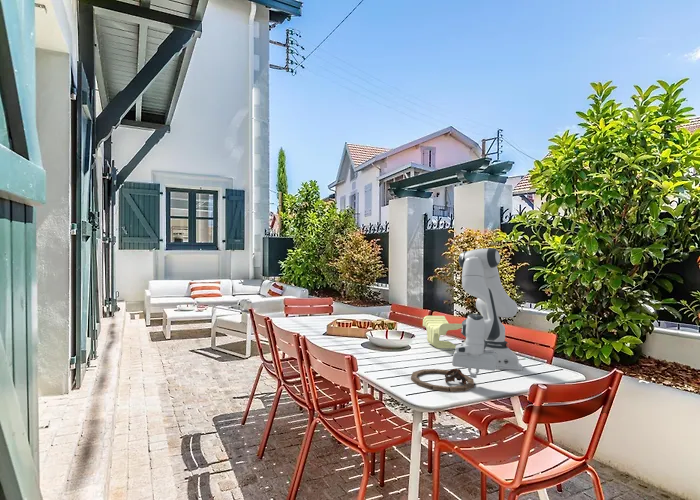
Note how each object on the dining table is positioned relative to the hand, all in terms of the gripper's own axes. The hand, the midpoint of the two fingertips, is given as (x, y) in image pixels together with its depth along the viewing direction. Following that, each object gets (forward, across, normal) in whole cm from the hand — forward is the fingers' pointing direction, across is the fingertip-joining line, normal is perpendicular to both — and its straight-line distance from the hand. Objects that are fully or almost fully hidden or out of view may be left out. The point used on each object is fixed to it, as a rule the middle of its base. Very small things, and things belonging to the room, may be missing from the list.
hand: (473, 377), depth 199 cm
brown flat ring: (+4, +14, 0) cm, 15 cm away
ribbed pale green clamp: (+4, +18, -79) cm, 81 cm away
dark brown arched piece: (+4, +8, +1) cm, 9 cm away
